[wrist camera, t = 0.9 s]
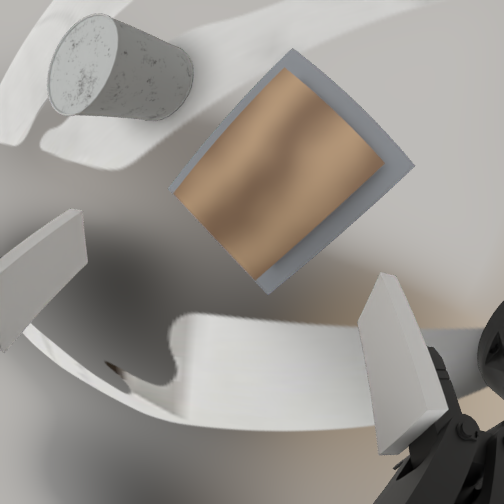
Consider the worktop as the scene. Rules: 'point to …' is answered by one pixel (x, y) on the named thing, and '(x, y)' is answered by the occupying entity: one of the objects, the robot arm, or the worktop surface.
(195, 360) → the worktop surface
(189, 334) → the worktop surface
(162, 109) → the grey speckled cylinder
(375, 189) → the mat
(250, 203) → the board
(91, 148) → the worktop surface
